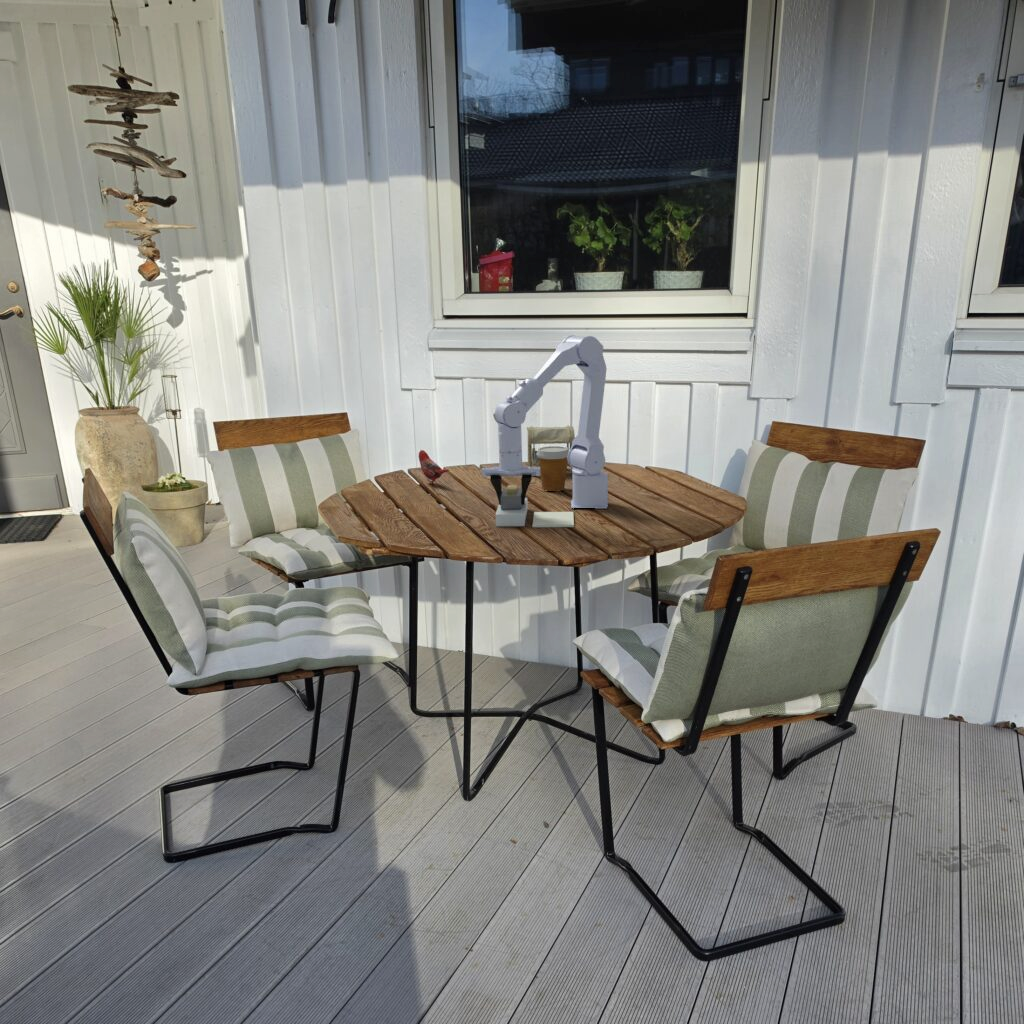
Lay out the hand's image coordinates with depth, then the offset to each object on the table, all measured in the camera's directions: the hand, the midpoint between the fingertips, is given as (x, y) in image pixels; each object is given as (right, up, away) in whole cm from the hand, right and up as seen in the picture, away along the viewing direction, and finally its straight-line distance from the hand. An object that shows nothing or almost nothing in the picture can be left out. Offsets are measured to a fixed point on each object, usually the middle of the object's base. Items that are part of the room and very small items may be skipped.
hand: (512, 503), depth 189 cm
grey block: (0, 0, 0) cm, 0 cm away
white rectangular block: (0, -3, +1) cm, 3 cm away
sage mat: (+10, -4, -3) cm, 11 cm away
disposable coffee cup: (+12, +4, +28) cm, 31 cm away
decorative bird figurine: (-23, +6, +37) cm, 45 cm away
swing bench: (+13, +10, +50) cm, 53 cm away
